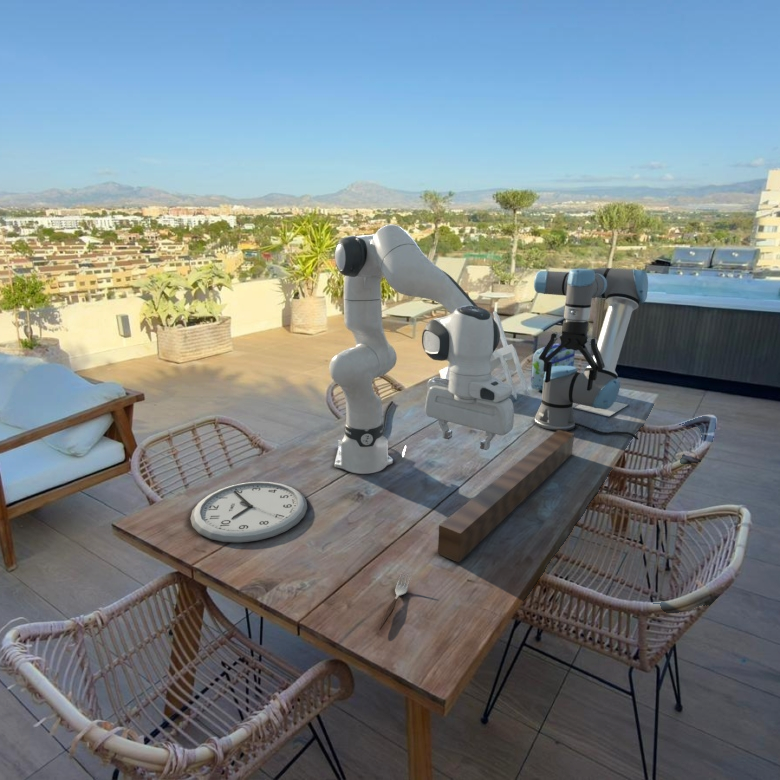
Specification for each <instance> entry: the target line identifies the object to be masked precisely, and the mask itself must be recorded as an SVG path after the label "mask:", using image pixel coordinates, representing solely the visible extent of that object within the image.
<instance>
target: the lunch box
mask: <svg viewBox="0 0 780 780" xmlns="http://www.w3.org/2000/svg"><path fill="white" fill-rule="evenodd" d="M561 344H562V343H554V345H553V346H552V348H551V349H550V351H549V352H548V354H547V355H546V357H548V356H549V355H550V354H551V353H552V352H553V351H554V350H555V349H557V348H558V346H560V345H561ZM546 346H547V345H545V346H544V347H541V348H538V349H537V350H536V351H535V352H534V354H533V357H532V362H531V371H530V372H531V374H530V387H531V389H533V390H539V391H543V381H544V380H543V379H544V375H545V372H544V370H543V369H544V361H543V360H540V359H539V356H540V355H541V353H542V352H543V350H544V349H545V347H546ZM575 352H576V350H572V349H566V348H563V349H562V350H561V351H560V352H559V353H558V354H557V355H556V356H554V357H553V358H552V359H551V360H550V361H549V362H552V367H553V366H574V363H575Z"/></svg>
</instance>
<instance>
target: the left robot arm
mask: <svg viewBox="0 0 780 780" xmlns="http://www.w3.org/2000/svg"><path fill="white" fill-rule="evenodd" d="M334 263H335V267H336V269H337V270H338V272H339V273H340V274H341V275H342V276H344V279H343V318H344V319H343V320H344V326H345V327H346V329H347V330H348V331H350V332H351V333H352V336H353V338H354V342H355V346H354V347H350V348H347V349H343V350H342V351H340V352H339V353H337V354H336V355H334V356H333V357H332V358H331V359H330V362H329V364H328V365H329V366H328V371H329V375H330V378H331V379H332V380H333V382H334V383H336V385H338V386H339V387H340V389H341V391H342V393H343V396H344V400H345V401H344V402H345V415H346V421H345V423H344V435H343V437H342V439H338V440H337V451H336V456H335V460H334V465H333V466H334V467H335V468H337V469H341V470H345V471H346V472H349V473H352V474H359V475H360V474H361V475H365V474H367V475H368V474H374V473H378V472H381V471H383V470H384V469H385V468H386V467H387V466H389V465H392V464H393V463H394V459H393V458H392V457H391V456H390V455H389V446H388V445H389V443H388V439H387V438H386V437H385V436H384V431H385V427H386V423H387V415H388V413H389V412H388V411H389V409H390V407H391V406H392V405H393V404H394V401H393V400H391V401H390V402H389V404H388V405H387V407H386V408H385V411H384V415H383V401H382V398H381V396H379V395H378V394H377V393H376V392H375V390H374V385H373V381H374V380H375V379H377V378H380V377H383V376H385V375H386V374H388V373H389V372H390V371H392V370H393V368H394V367H395V366H396V363H397V361H398V360H397V353H396V350H395V348H394V347H393V346H392V345H391V344H390V343H389V341H388V339H387V337H386V332H385V330H384V325H383V308H382V307H383V306H382V305H383V303H382V286H381V285H382V279H383V278H384V279H385V280H386V283H387V284H388V285H389V286H390V287H391V288H392V289H393V290H394V291H395V292H397V293H398V294H400V295H403V296H409V297H414V298H421V299H426V300H431V301H433V302H436V303H439V304H440V305H442V306H443V307H444V308H445V309H446V310H447V311H448V313H449V314H448V315H445V316H441V317H437V318H434V319H433V318H432V319H430V320H429V321H428V322H427V323H426V324H425V326H424V328H423V331H422V335H421V344H422V349H423V351H424V353H425V354H426V355H427V356H428V357H429V358H430V359H432V360H433V361H440V362H445V361H447V362H448V363H449V362H450V369H449V379H443V378H441V377H439V376H433V377H431V378H430V379H429V380H428V381H427V394H426V399H425V404H424V405H425V406H424V413H425V414H426V416H427V417H429V418H433V419H437V420H438V425H439V428H440V429H441V432H442V438H443V439H445V440H450V439H452V438H453V429H450V428H449V425H448V423H453V424H456V425H460V426H463V427H467V428H472V429H475V430H479V431H482V432H485V437H486V438H485V439H482V440H481V441H480V443H479V444H480V446H479V449H481V450H484V451H489V449H490V447H491V441H492V440H493V439H494V437H495V436H496V435H499V436H502V437H503V436H506V435H507V434H509V433H510V432H511V431H512V430H513V428H514V423H515V421H514V420H515V418H514V417H515V411H514V403H513V401H512V399H511V396H512V387H511V386H509V385H508V384H507V382H504V381H502V380H500V379H499V378H497V377H495V376H493V374H492V372H491V366H490V359H491V355H492V353H493V352H494V351H495V350H497V348H498V346H499V344H500V341H501V338H500V330H499V327H498V325H497V323H496V321H495V318H494V317H493V316H492V315H493V314H492V313H491V312H490V311H489V310H487V309H486V308H483V307H481V306H478V305H477V303H476V302H474V299H472V298H471V297H470V296H469V295H468V294H467V292H466V291H465V290H464V289H463V288H462V287H461V285H459V283H458V282H457V281H456V280H455V279H454V278H453V277H452V276H451V275H450V274H449V273H447V272H446V271H445V270H442V269H441V268H440V267H439V266H437V265H436V264H435V263H434V262H432V260H430V259H429V258H428V257H427V256H426V255H425V254H424V252H423V251H422V250H421V248H420V247H419V245H418V244H417V242H416V241H415V240H414V238H412V236H411V235H410V234H409V233H408V232H407V231H406V230H405V229H404V228H402V227H401V226H400V225H396V224H386V225H384V226H382V227H380V228H379V229H378V230H377V231H376V232H375V233H372V234H364V235H357V236H356V235H350V236H345V237H343V238H341V239H339V240H338V242H337V244H336V245H335V248H334ZM406 449H407V445H405V446H404V448H403V450H402V454H401V456H402V458H404V457H405V454H406V453H405V452H406Z"/></svg>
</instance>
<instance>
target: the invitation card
mask: <svg viewBox="0 0 780 780" xmlns="http://www.w3.org/2000/svg"><path fill="white" fill-rule="evenodd" d="M628 406H629V404H627V403H623V402H618V401H615V402H614V403H613V405H612V406H611V407H610V408H608V409H600V408H594V407H590V406H585V405H581V404H577V405H575V406H574V407H573V409H575V410H581V411H584V412H587V413H593V414H596V415H600V416H604V417H608V418H609V417H611V416H613V415H614V414H616V413H617V412H619V411H621V410H623V409H624V408H626V407H628Z"/></svg>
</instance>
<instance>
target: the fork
mask: <svg viewBox="0 0 780 780" xmlns="http://www.w3.org/2000/svg"><path fill="white" fill-rule="evenodd" d="M402 574H403V572H402V571H401V573H400V575H399V577H398V581H397V584H396V586H395V588H394V593H395V597H394V599H393V600H392V601H391V602H390V604H389V605H388V607H387V609H386V611H385V614H384V615H383V618H382V620H381V621H382V622H381V624H380V626H379V631H381V629H382V628H383V627H384V625H385V623H386V622H387V621H388V619H389V618H390V617H391V615H392V613H393V611H394V610H395V606H396V603H397V601H398V598H399V597H400V596H403V595H406V594H407V592H408V590H409V586H410V582H411V578H412V575H410V576H409V574H407V575H406V573H404V574H403V577H402ZM405 575H406V578H405ZM408 576H409V579H408ZM401 578H402V579H401Z"/></svg>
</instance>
